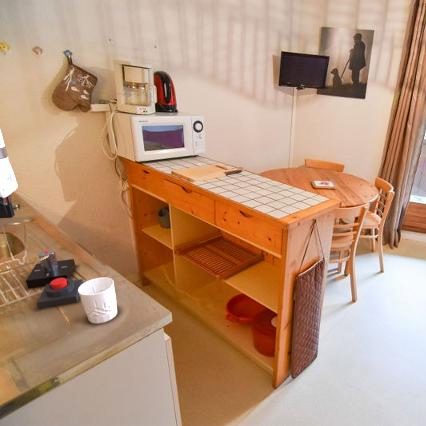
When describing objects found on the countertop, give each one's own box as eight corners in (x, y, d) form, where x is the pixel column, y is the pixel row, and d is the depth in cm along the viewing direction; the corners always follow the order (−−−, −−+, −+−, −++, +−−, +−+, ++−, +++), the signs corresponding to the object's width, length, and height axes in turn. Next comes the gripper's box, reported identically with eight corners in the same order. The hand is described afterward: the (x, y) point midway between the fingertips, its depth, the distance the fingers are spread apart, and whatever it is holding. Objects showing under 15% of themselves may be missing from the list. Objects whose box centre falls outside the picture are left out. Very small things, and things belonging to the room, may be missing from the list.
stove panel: (27, 288, 96) (24, 280, 95) (38, 271, 104) (36, 263, 103) (68, 282, 100) (66, 274, 99) (75, 266, 108) (73, 258, 107)
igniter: (38, 308, 89) (34, 297, 87) (48, 290, 96) (44, 279, 94) (77, 302, 92) (74, 291, 91) (84, 284, 100) (81, 274, 98)
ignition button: (50, 290, 91) (48, 285, 90) (53, 283, 94) (52, 278, 93) (65, 288, 92) (64, 283, 91) (68, 281, 95) (67, 276, 94)
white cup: (102, 328, 84) (94, 297, 80) (78, 321, 86) (70, 290, 82) (126, 309, 91) (120, 280, 87) (104, 303, 93) (97, 274, 89)
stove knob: (56, 271, 100) (51, 254, 98) (40, 273, 98) (35, 255, 96) (60, 264, 103) (55, 247, 101) (45, 266, 102) (39, 249, 99)
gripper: (-7, 161, 79) (13, 227, 86) (17, 148, 92) (32, 206, 99) (-49, 161, 76) (-25, 229, 83) (-18, 147, 88) (1, 208, 96)
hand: (6, 216), depth 91 cm, fingers closed
